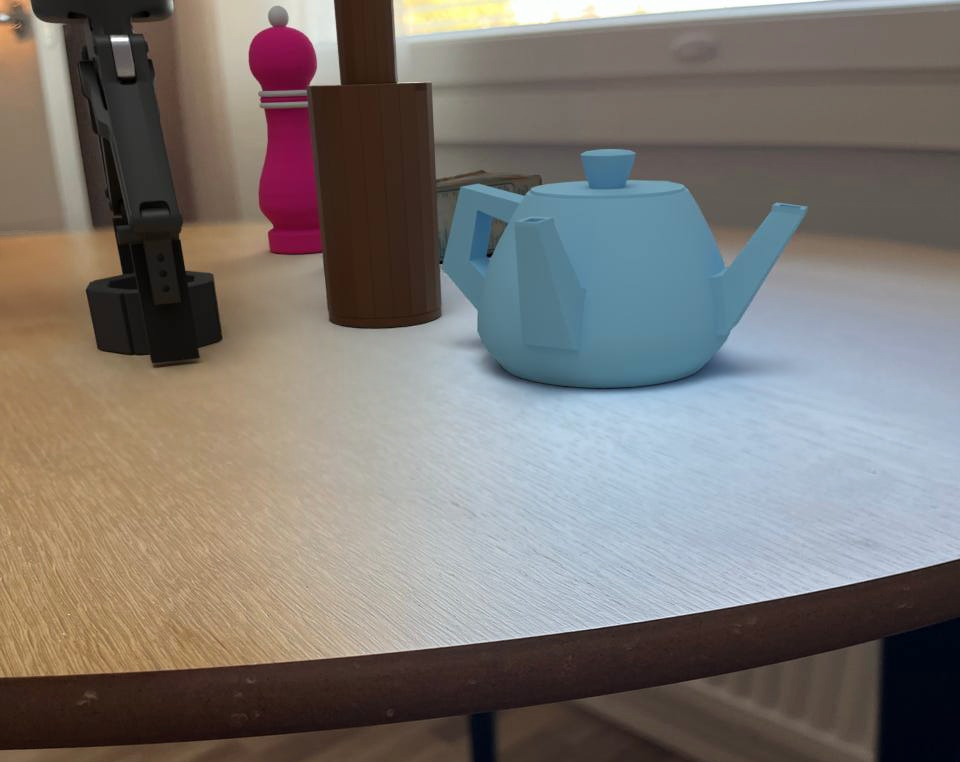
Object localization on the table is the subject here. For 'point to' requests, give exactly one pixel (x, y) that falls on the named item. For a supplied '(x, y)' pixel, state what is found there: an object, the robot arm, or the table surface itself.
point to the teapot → (605, 276)
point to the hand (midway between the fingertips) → (162, 337)
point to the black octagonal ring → (123, 317)
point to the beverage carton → (451, 185)
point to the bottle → (375, 178)
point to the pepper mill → (287, 135)
